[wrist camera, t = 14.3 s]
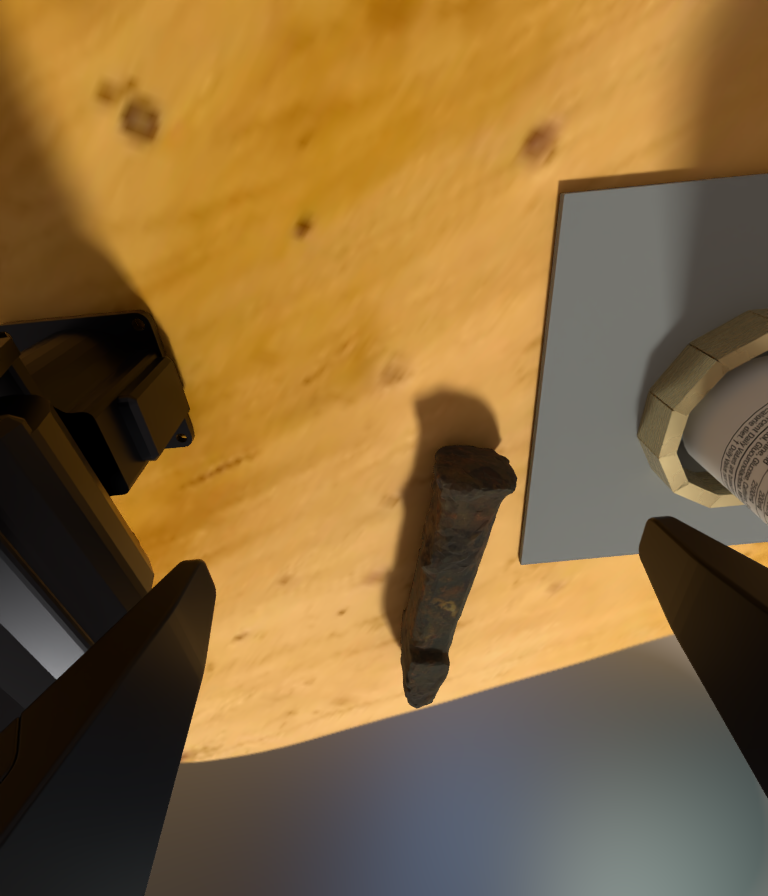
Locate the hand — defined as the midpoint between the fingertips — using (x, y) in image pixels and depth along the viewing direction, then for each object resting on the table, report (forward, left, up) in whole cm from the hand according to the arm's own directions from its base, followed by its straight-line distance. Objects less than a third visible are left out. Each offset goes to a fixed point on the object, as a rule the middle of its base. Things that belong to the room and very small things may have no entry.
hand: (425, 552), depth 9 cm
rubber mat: (+17, -5, -13) cm, 22 cm away
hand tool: (+2, -15, -13) cm, 20 cm away
